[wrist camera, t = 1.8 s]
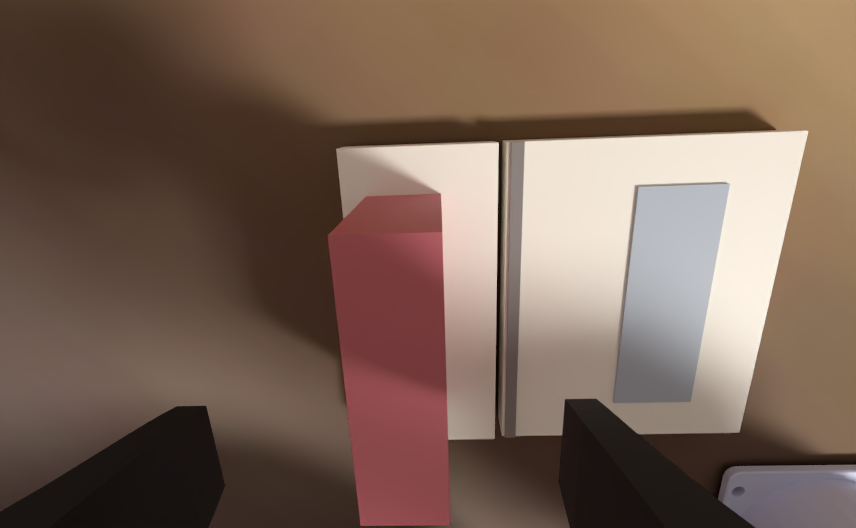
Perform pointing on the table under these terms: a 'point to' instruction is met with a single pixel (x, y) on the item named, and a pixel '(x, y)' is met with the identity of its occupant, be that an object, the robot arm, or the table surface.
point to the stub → (415, 317)
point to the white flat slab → (639, 275)
